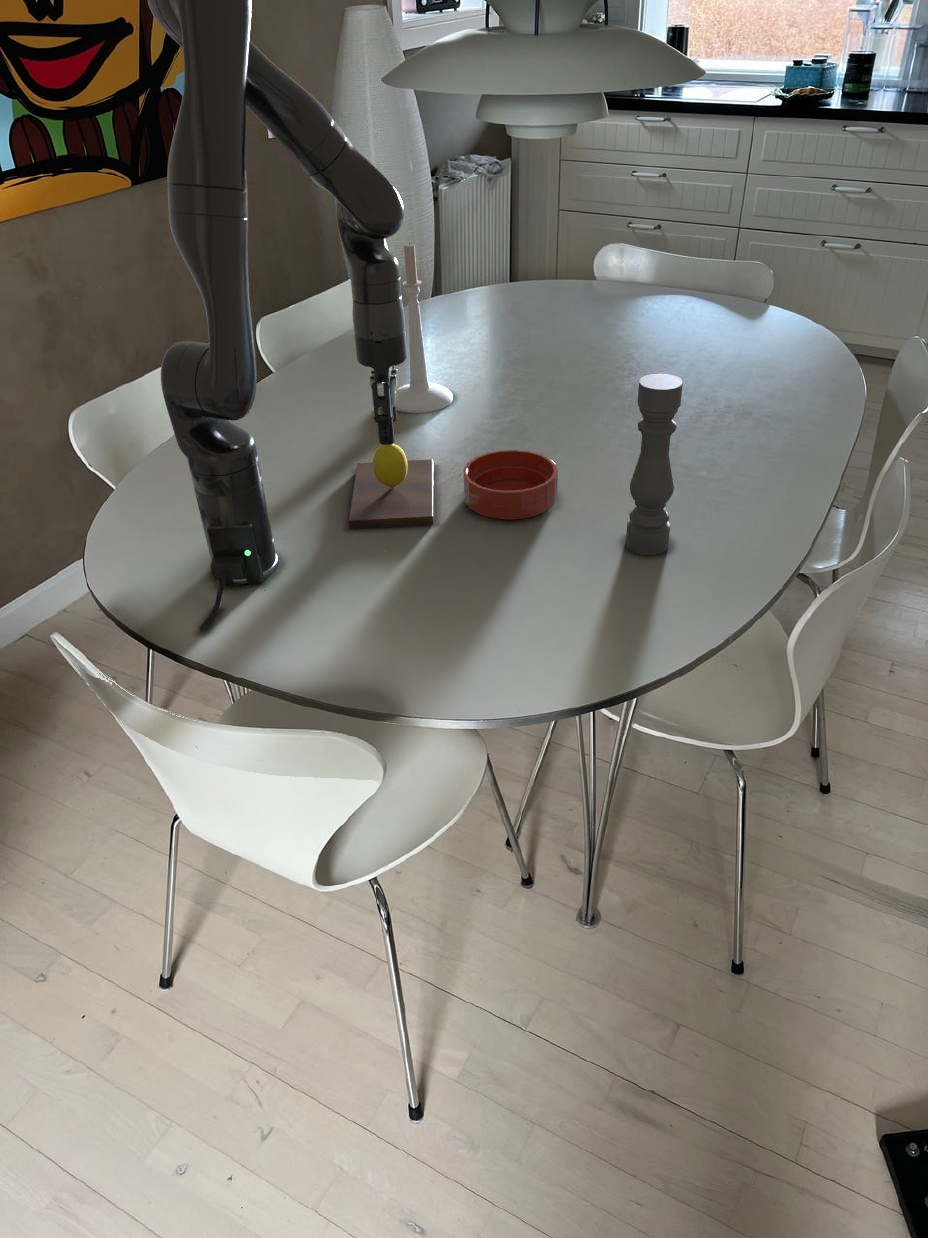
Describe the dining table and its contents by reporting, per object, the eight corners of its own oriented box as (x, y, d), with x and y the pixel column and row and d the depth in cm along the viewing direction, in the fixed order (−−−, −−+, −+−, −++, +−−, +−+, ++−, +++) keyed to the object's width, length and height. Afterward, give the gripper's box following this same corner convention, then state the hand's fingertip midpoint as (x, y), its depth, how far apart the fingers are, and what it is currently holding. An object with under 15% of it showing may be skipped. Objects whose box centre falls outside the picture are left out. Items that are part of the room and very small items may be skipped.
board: (433, 524, 144) (432, 516, 143) (349, 528, 144) (348, 520, 143) (433, 466, 160) (432, 459, 159) (358, 470, 160) (357, 462, 159)
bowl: (561, 519, 144) (562, 489, 140) (466, 524, 144) (464, 494, 140) (551, 475, 156) (552, 447, 152) (463, 480, 156) (462, 452, 153)
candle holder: (639, 529, 140) (652, 369, 126) (676, 541, 137) (693, 378, 122) (617, 546, 136) (628, 383, 122) (654, 560, 133) (670, 393, 118)
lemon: (404, 496, 149) (400, 450, 144) (371, 494, 150) (366, 449, 145) (413, 480, 153) (409, 435, 148) (380, 478, 154) (376, 434, 149)
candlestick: (379, 395, 187) (364, 239, 170) (438, 383, 191) (428, 229, 174) (402, 417, 178) (387, 255, 160) (462, 404, 182) (455, 244, 164)
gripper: (358, 315, 142) (367, 415, 151) (349, 345, 130) (360, 452, 139) (407, 313, 142) (414, 414, 151) (403, 343, 130) (410, 450, 139)
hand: (388, 432), depth 145 cm, fingers open, 8 cm apart
